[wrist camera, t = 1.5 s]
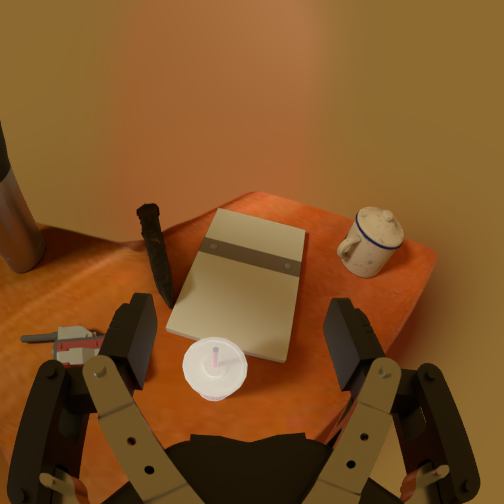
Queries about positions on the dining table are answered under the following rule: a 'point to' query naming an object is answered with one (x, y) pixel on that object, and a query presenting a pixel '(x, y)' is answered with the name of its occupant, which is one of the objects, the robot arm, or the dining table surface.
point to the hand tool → (156, 250)
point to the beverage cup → (215, 367)
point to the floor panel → (242, 285)
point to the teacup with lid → (370, 242)
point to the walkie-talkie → (71, 344)
